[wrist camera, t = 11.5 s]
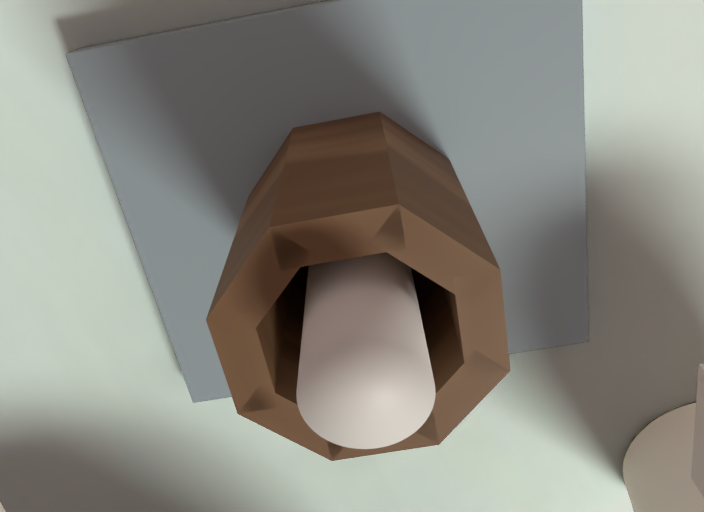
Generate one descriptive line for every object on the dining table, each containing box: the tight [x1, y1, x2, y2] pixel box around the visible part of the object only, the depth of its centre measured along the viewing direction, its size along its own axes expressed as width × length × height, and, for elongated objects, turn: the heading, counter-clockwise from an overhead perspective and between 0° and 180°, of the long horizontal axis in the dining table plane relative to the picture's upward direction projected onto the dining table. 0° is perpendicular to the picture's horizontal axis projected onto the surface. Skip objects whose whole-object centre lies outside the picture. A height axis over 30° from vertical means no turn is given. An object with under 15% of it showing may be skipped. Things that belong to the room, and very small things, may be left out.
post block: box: [66, 0, 589, 449], centre depth 19 cm, size 16×14×11 cm
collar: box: [206, 112, 510, 461], centre depth 19 cm, size 7×7×8 cm
